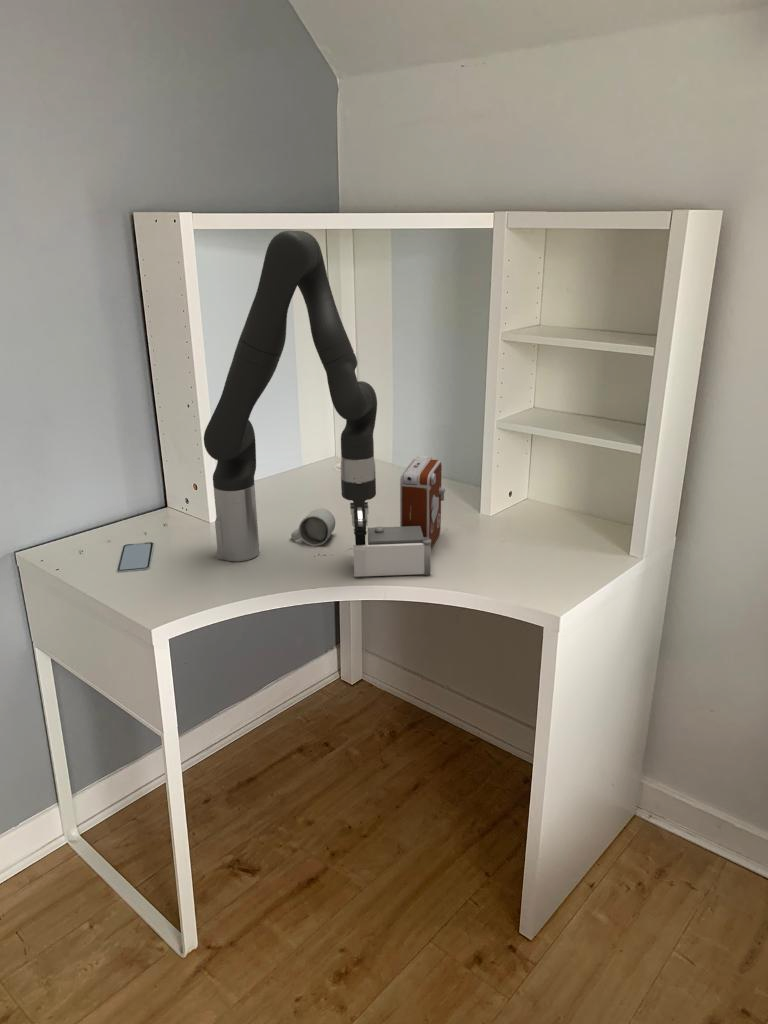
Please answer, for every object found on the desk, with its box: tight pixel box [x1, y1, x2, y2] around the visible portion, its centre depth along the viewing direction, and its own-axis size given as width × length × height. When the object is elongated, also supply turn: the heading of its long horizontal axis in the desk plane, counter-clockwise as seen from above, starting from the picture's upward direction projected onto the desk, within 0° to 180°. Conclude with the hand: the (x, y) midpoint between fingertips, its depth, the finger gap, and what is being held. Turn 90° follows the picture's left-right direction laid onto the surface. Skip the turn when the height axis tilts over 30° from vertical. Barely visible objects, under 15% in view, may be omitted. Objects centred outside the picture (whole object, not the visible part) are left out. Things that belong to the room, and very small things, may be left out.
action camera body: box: [367, 526, 431, 545], centre depth 177 cm, size 14×10×9 cm
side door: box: [352, 543, 432, 577], centre depth 173 cm, size 17×2×7 cm, turn 94°
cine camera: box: [399, 455, 446, 550], centre depth 190 cm, size 9×19×20 cm, turn 164°
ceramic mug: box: [290, 507, 336, 547], centre depth 193 cm, size 11×8×8 cm
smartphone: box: [116, 541, 155, 573], centre depth 185 cm, size 7×1×15 cm
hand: (360, 549), depth 177 cm, fingers closed
